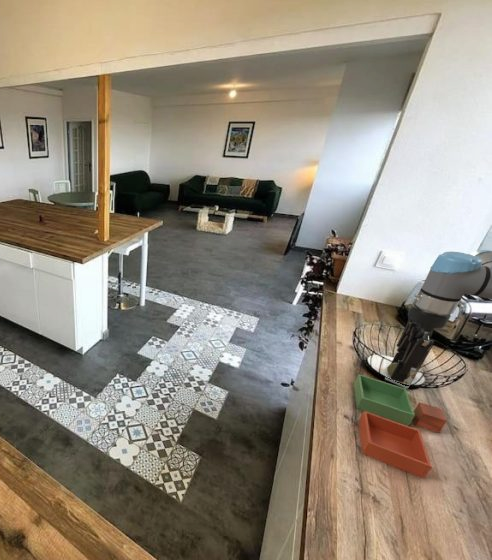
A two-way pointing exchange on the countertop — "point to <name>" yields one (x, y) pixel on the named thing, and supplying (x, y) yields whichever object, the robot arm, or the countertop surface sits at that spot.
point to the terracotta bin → (394, 444)
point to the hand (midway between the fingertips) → (395, 375)
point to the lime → (392, 367)
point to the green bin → (383, 399)
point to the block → (429, 417)
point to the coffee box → (413, 372)
